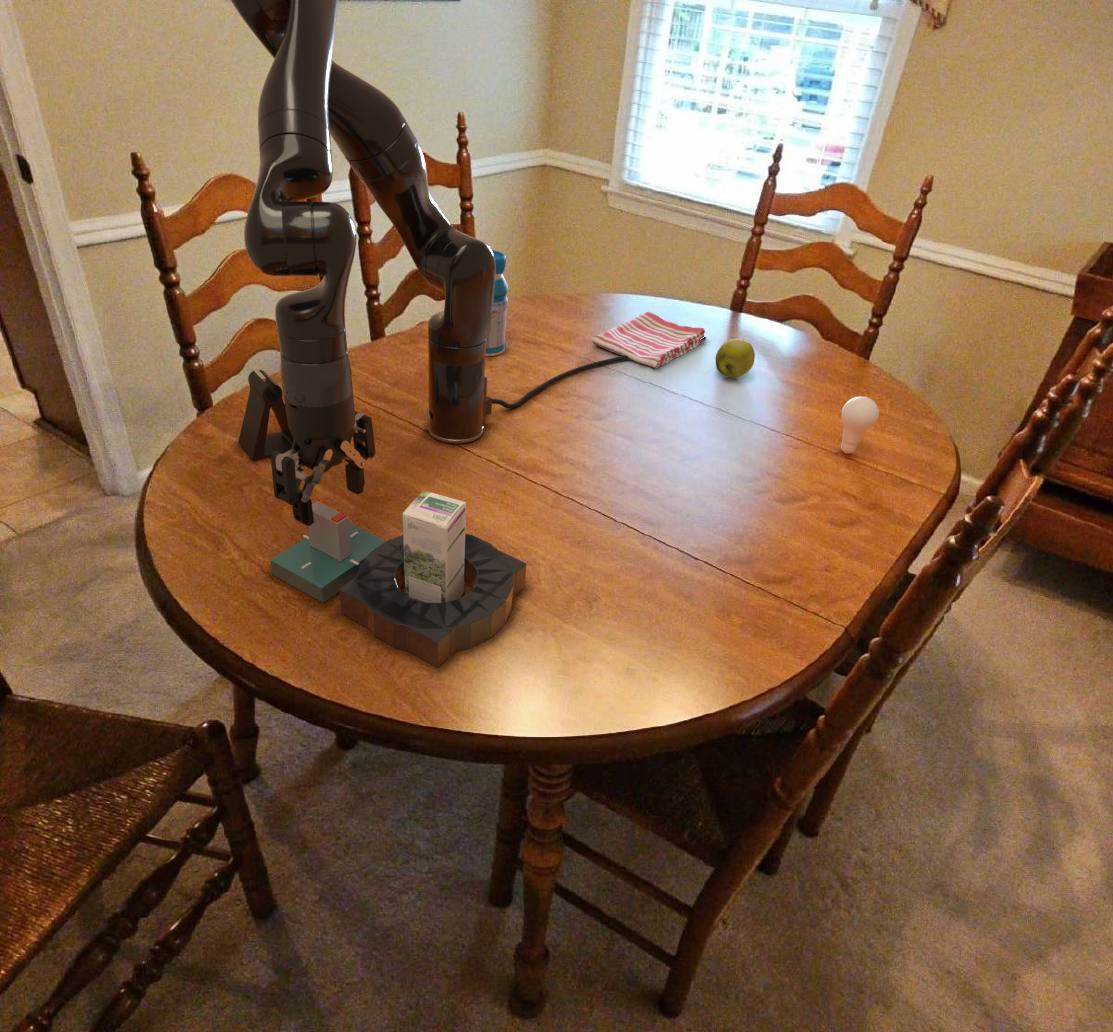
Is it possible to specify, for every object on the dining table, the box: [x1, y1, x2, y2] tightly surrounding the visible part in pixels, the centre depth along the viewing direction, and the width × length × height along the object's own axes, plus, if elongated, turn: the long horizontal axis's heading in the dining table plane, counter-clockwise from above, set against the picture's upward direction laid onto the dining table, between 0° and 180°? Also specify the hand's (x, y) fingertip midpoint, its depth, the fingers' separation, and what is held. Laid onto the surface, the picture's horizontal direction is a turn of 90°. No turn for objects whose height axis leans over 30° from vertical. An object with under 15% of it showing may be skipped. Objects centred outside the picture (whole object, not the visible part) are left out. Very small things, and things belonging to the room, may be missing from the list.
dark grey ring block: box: [338, 533, 527, 668], centre depth 96 cm, size 19×19×4 cm
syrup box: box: [402, 490, 467, 603], centre depth 93 cm, size 6×6×14 cm
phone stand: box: [238, 369, 294, 462], centre depth 120 cm, size 9×6×12 cm, turn 128°
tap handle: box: [307, 500, 352, 562], centre depth 98 cm, size 6×2×6 cm, turn 58°
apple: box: [715, 338, 756, 379], centre depth 161 cm, size 8×9×8 cm
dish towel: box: [591, 311, 706, 370], centre depth 172 cm, size 17×23×4 cm
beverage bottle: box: [485, 249, 509, 357], centre depth 157 cm, size 8×8×20 cm
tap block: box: [269, 521, 387, 604], centre depth 100 cm, size 12×10×3 cm
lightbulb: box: [840, 396, 880, 455], centre depth 136 cm, size 6×6×11 cm
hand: (331, 506), depth 96 cm, fingers open, 8 cm apart
